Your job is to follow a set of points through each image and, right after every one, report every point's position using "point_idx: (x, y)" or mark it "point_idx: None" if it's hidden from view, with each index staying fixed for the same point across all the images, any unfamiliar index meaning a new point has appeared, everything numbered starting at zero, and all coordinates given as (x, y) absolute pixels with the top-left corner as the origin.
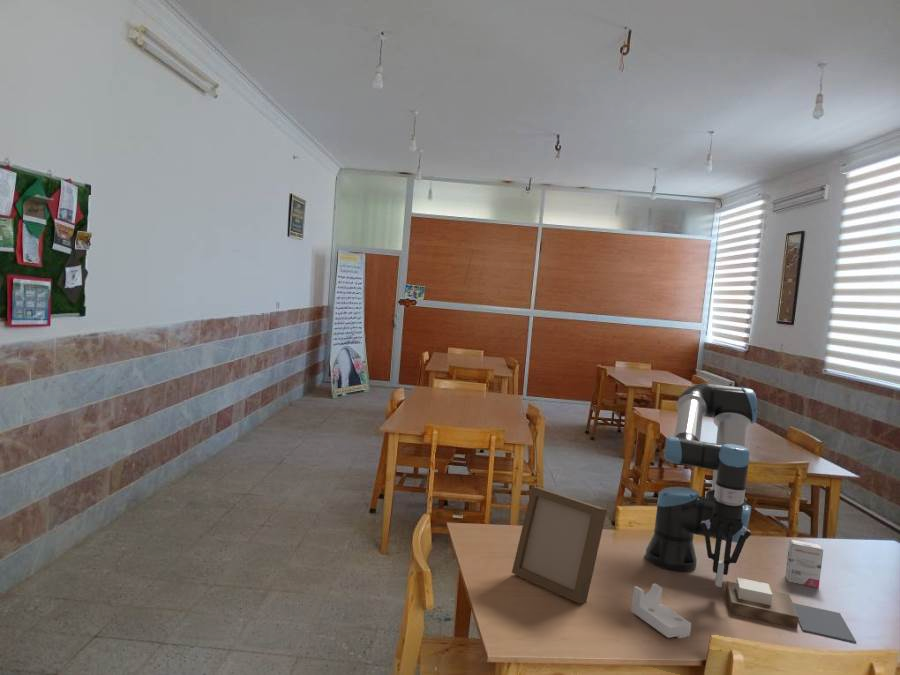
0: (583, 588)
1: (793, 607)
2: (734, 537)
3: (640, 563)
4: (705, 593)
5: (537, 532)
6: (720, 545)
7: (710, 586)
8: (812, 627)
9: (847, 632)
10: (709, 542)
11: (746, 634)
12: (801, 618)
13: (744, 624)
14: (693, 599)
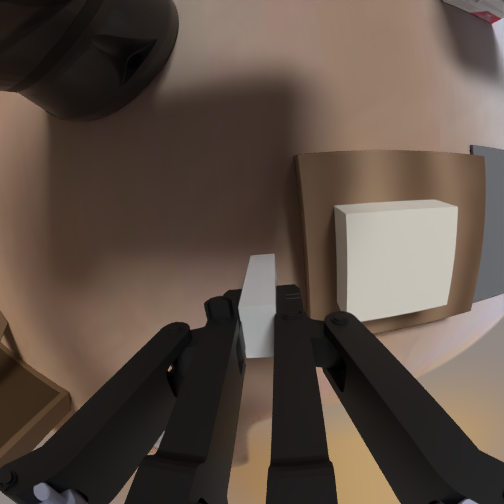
0: (59, 416)
1: (478, 257)
2: None
3: (42, 139)
4: (227, 224)
5: None
6: (230, 446)
7: (238, 147)
8: (483, 278)
9: None
10: (149, 442)
11: (333, 393)
12: None
13: None
14: (199, 295)
